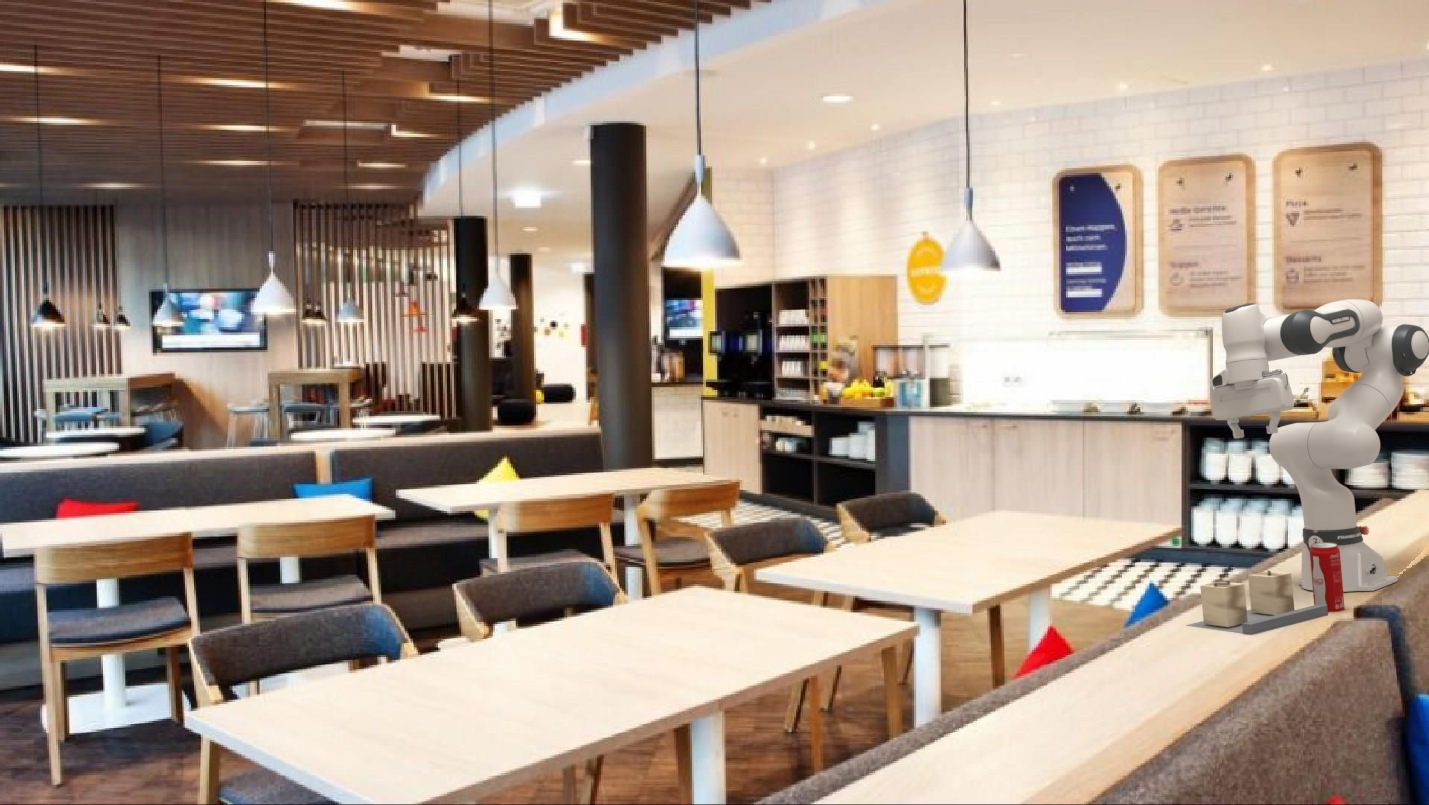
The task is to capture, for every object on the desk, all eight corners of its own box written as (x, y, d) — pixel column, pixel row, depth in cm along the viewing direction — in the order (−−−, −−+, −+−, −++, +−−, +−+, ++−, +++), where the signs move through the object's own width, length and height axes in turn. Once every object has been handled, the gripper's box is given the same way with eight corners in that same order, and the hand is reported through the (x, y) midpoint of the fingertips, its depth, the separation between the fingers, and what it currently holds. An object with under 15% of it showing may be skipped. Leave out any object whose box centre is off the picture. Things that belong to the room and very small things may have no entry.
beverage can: (1338, 610, 260) (1332, 540, 260) (1351, 616, 254) (1344, 544, 254) (1309, 612, 261) (1303, 543, 261) (1321, 618, 254) (1315, 546, 254)
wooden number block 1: (1269, 607, 263) (1266, 569, 263) (1294, 610, 258) (1290, 571, 258) (1251, 612, 260) (1247, 573, 260) (1276, 615, 255) (1272, 575, 255)
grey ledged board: (1261, 611, 266) (1259, 597, 266) (1328, 619, 252) (1327, 605, 252) (1186, 630, 255) (1184, 615, 255) (1252, 639, 241) (1250, 624, 241)
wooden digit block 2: (1223, 619, 256) (1219, 579, 256) (1247, 622, 251) (1244, 581, 251) (1203, 624, 253) (1200, 583, 253) (1228, 627, 248) (1224, 586, 248)
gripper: (1296, 367, 266) (1304, 430, 265) (1224, 381, 285) (1231, 439, 283) (1275, 367, 264) (1283, 431, 262) (1203, 381, 282) (1210, 440, 281)
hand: (1255, 435), depth 273 cm, fingers open, 8 cm apart
